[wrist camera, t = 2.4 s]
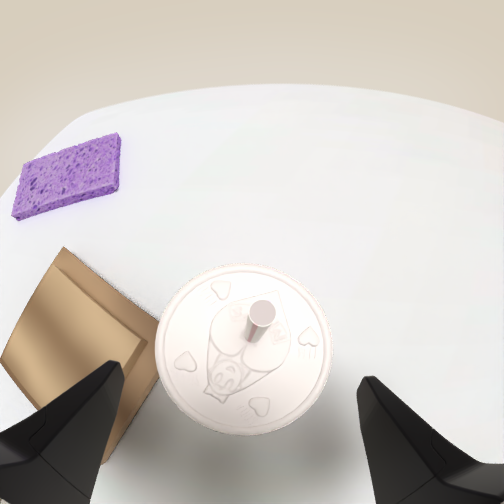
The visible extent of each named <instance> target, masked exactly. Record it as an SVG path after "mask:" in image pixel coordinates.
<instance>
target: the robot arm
mask: <svg viewBox="0 0 504 504" xmlns="http://www.w3.org/2000/svg"><path fill="white" fill-rule="evenodd" d="M124 381H125V377H124V373H123V370H122V367H121V364H120V362H118V361H115V360H108V361H107V362H105V363H104V364H102V365H101V366H100V367H98V368H97V369H95V370H94V371H93V372H91V373H90V374H89V375H87V376H86V377H84V378H83V379H82V380H80V381H79V382H77V383H76V384H75V385H73V386H72V387H70V388H69V389H68V390H66V391H65V392H63V393H62V394H61V395H59V396H58V397H57V398H55V399H54V400H52V401H51V402H50V403H48V404H47V405H46V406H44V407H42V408H41V409H40V410H38V411H37V412H35V413H34V414H32V415H31V416H29V417H28V418H26V419H24V420H22V421H21V422H19V423H17V424H15V425H13V426H12V427H10V428H8V429H6V430H4V431H2V432H0V504H90V499H91V496H92V492H93V489H94V485H95V481H96V478H97V474H98V471H99V468H100V464H101V461H102V458H103V455H104V452H105V448H106V445H107V442H108V439H109V436H110V433H111V430H112V427H113V424H114V421H115V418H116V415H117V411H118V407H119V403H120V398H121V394H122V390H123V385H124ZM357 403H358V411H359V420H360V428H361V433H362V437H363V442H364V446H365V451H366V455H367V460H368V465H369V469H370V474H371V479H372V485H373V490H374V495H375V501H376V504H504V464H488V463H482V462H479V461H477V460H475V459H473V458H472V457H471V456H469V455H468V454H466V453H465V452H463V451H462V450H460V449H459V448H457V447H456V446H455V445H453V444H452V443H451V442H449V441H448V440H447V439H445V438H444V437H443V436H442V435H441V434H439V433H438V432H437V431H436V430H435V429H432V427H431V426H430V425H429V424H428V423H427V422H426V421H424V420H423V419H422V418H421V417H420V416H419V415H418V414H417V413H415V412H414V411H413V410H412V409H411V408H410V407H409V406H408V405H406V404H405V403H404V402H403V401H402V400H401V399H400V398H399V397H397V396H396V395H395V394H394V393H393V392H392V391H391V390H390V389H389V388H387V387H386V386H385V385H384V384H383V383H382V382H381V381H380V380H378V379H377V378H376V377H375V376H365V377H364V378H363V379H362V381H361V383H360V385H359V387H358V389H357Z"/></svg>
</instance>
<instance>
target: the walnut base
mask: <svg viewBox="0 0 504 504" xmlns="http://www.w3.org/2000/svg"><path fill="white" fill-rule="evenodd" d="M158 325H159V321H157V320H156V319H155V318H153V317H152V316H150V315H149V314H148V313H146V312H145V311H143V310H142V309H141V308H139V307H138V306H137V305H135V304H134V303H133V302H131V301H130V300H129V299H127V298H126V297H125V296H123V295H122V294H121V293H119V292H118V291H117V290H116V289H114V288H113V287H112V286H110V285H109V284H108V283H107V282H105V281H104V280H103V279H102V278H100V277H99V276H98V275H97V274H96V273H94V272H93V271H92V270H91V269H90V268H88V267H87V266H86V265H85V264H84V263H83V262H81V261H80V260H79V259H78V258H77V257H76V256H74V255H73V254H72V253H71V252H70V251H69V250H67V249H66V248H65V247H64V246H63V248H62V249H61V251H60V252H59V253H58V255H57V256H56V258H55V259H54V261H53V262H52V264H51V265H50V267H49V269H48V270H47V272H46V273H45V275H44V276H43V278H42V280H41V281H40V283H39V285H38V286H37V288H36V290H35V291H34V293H33V295H32V296H31V298H30V300H29V302H28V303H27V305H26V307H25V309H24V311H23V312H22V314H21V316H20V318H19V320H18V322H17V324H16V326H15V328H14V330H13V332H12V334H11V336H10V338H9V340H8V342H7V344H6V347H5V349H4V351H3V353H2V356H1V358H0V363H1V364H2V366H3V367H4V369H5V370H6V371H7V373H8V374H9V375H10V377H11V378H12V380H13V381H14V382H15V383H16V385H17V386H18V387H19V389H20V390H21V391H22V392H23V394H24V395H25V396H26V397H27V398H28V400H29V401H30V402H31V403H32V404H33V405H34V407H35V408H36V409H37V410H40V409H41V408H42V407H44V406H46V405H47V404H48V403H50V402H51V401H52V400H54V399H55V398H57V397H58V396H59V395H61V394H62V393H63V392H65V391H66V390H68V389H69V388H70V387H72V386H73V385H75V384H76V383H77V382H79V381H80V380H82V379H83V378H84V377H86V376H87V375H89V374H90V373H91V372H93V371H94V370H95V369H97V368H98V367H100V366H101V365H102V364H104V363H105V362H107V361H108V360H115V361H118V362H120V364H121V367H122V370H123V373H124V377H125V381H124V385H123V390H122V394H121V398H120V403H119V407H118V411H117V415H116V418H115V421H114V424H113V427H112V430H111V433H110V436H109V439H108V442H107V445H106V448H105V452H104V455H103V458H102V461H101V464H100V465H102V464H104V463H105V462H106V461H107V460H108V458H109V457H110V455H111V453H112V452H113V450H114V448H115V447H116V445H117V444H118V442H119V440H120V439H121V437H122V435H123V434H124V432H125V431H126V429H127V427H128V426H129V424H130V423H131V421H132V419H133V418H134V416H135V415H136V413H137V411H138V410H139V408H140V407H141V405H142V403H143V402H144V400H145V399H146V397H147V395H148V394H149V392H150V391H151V389H152V387H153V386H154V384H155V383H156V381H157V379H158V378H159V373H158V370H157V365H156V359H155V339H156V333H157V329H158Z"/></svg>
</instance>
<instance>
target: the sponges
mask: <svg viewBox="0 0 504 504" xmlns="http://www.w3.org/2000/svg"><path fill="white" fill-rule="evenodd" d="M120 147H121V138H120V137H119V135H118V133H117V132H116V133H114V134H109V135H106V136H103V137H101V138H96V139H92V140H90V141H88V142H85V143H82V144H79V145H78V146H72V147H69V148H66V149H63V150H61V151H59V152H57V153H56V152H54V153H51V154H48V155H46V156H43V157H41V158H38V159H34V160H32V161H30V162H27V163H25V164H24V165H23V168H22V173H21V176H20V179H19V182H20V185H18V188H17V192H16V197H15V201H14V202H15V203H14V204H13V210H12V214H11V216H13V217H14V218H16V220H18V221H20V220H22V219H25V218H28V217H31V216H34V215H37V214H39V213H43V212H46V211H49V210H53V209H56V208H58V207H63V206H67V205H70V204H73V203H77V202H80V201H83V200H87V199H92V198H95V197H99V196H104V195H108V194H111V193H113V192H114V191H115V190H116V189H117V188H118V187H119V165H120V164H119V156H120Z"/></svg>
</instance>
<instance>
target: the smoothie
mask: <svg viewBox="0 0 504 504" xmlns="http://www.w3.org/2000/svg"><path fill="white" fill-rule="evenodd" d="M155 359H156V365H157V370H158V373H159V377H160V379H161V382H162V384H163V386H164V388H165V390H166V392H167V393H168V395H169V396H170V398H171V399H172V401H173V402H174V403H175V404H176V406H177V407H178V408H179V409H180V410H181V411H182V412H183V413H185V414H186V415H187V416H188V417H189V418H191V419H192V420H194V421H195V422H197V423H198V424H200V425H202V426H204V427H206V428H208V429H211V430H213V431H216V432H220V433H224V434H229V435H237V436H252V435H260V434H265V433H269V432H272V431H275V430H278V429H280V428H283V427H285V426H287V425H288V424H290V423H292V422H294V421H295V420H296V419H298V418H299V417H301V416H302V415H303V414H304V413H305V412H306V411H307V410H308V409H309V408H310V407H311V406H312V405H313V404H314V403H315V401H316V400H317V399H318V397H319V396H320V394H321V392H322V391H323V389H324V387H325V385H326V382H327V380H328V377H329V374H330V370H331V366H332V359H333V341H332V334H331V330H330V326H329V323H328V320H327V318H326V315H325V313H324V311H323V309H322V308H321V306H320V304H319V303H318V301H317V300H316V299H315V297H314V296H313V295H312V294H311V293H310V292H309V290H308V289H307V288H305V287H304V286H303V285H302V284H301V283H300V282H298V281H297V280H296V279H294V278H293V277H291V276H289V275H288V274H286V273H284V272H281V271H279V270H277V269H274V268H271V267H268V266H264V265H259V264H250V263H237V264H228V265H223V266H219V267H216V268H213V269H210V270H208V271H205V272H203V273H201V274H199V275H198V276H196V277H195V278H193V279H191V280H190V281H189V282H187V283H186V284H185V285H184V286H183V287H182V288H181V289H180V290H179V291H178V292H177V293H176V294H175V295H174V296H173V298H172V299H171V300H170V302H169V303H168V305H167V307H166V308H165V310H164V312H163V314H162V316H161V319H160V322H159V325H158V329H157V333H156V339H155Z"/></svg>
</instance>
